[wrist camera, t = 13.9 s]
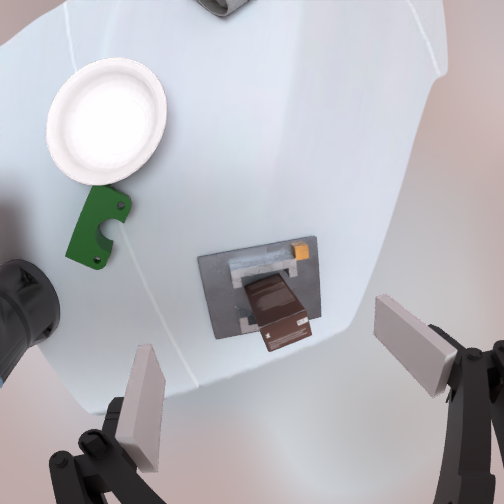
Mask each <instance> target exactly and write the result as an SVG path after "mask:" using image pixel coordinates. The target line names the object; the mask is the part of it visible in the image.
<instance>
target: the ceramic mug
mask: <svg viewBox="0 0 504 504" xmlns="http://www.w3.org/2000/svg"><path fill="white" fill-rule="evenodd" d="M198 1H199V2H200V4H201V5H202V6H203V7H205V8H206V9H207V10H208V11H210V12H211V13H213V14H215V15H218V16H226V15H228V14H230V13H231V12H232V11H234V10H235V9H237V8H238V7H240V6H241V5H242V4H244V3H245V2H247V1H248V0H198Z"/></svg>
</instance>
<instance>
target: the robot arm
mask: <svg viewBox="0 0 504 504" xmlns="http://www.w3.org/2000/svg"><path fill="white" fill-rule="evenodd" d="M59 318H60V307H59V301H58V298H57V295H56V292H55V290H54V288H53V286H52V284H51V283H50V281H49V280H48V278H47V277H46V276H45V275H44V273H43V272H42V271H41V270H39V269H38V268H37V267H36V266H34V265H33V264H31V263H29V262H27V261H24V260H12V261H10V262H8V263H6V264H5V265H3V266H1V267H0V388H1V387H2V386H3V384H4V382H5V381H6V379H7V378H8V376H9V375H10V373H11V372H12V370H13V368H14V367H15V366H16V364H17V363H18V361H19V360H20V358H21V357H22V356H23V354H24V353H25V351H26V350H27V349H28V348H29V347H32V346H34V345H36V344H38V343H40V342H42V341H44V340H46V339H47V338H48V337H50V335H51V334H52V333H53V332H54V330H55V329H56V327H57V325H58V323H59ZM374 336H376V338H377V339H378V340H379V341H380V342H381V343H382V344H383V345H384V346H385V347H386V348H387V349H388V350H389V351H390V352H391V354H393V356H394V357H395V358H396V359H397V360H398V361H399V362H400V363H401V364H402V365H403V366H404V367H405V368H406V370H407V371H408V372H409V373H410V374H411V375H412V376H413V377H414V378H415V379H416V380H417V381H418V383H419V384H420V385H421V386H422V387H423V388H424V389H425V390H426V391H427V392H428V393H429V394H430V396H431V397H432V398H435V397H436V396H438V395H440V394H442V393H444V391H445V388H446V385H447V384H448V385H449V386H450V387H451V389H450V392H449V394H448V397H447V399H446V403H447V402H448V400H449V408H448V420H447V431H446V440H445V447H444V453H443V460H442V466H441V471H440V476H439V481H438V486H437V491H436V495H435V499H434V502H433V504H493V501H494V492H495V475H492V474H491V473H490V463H491V420H492V423H493V426H494V430H495V434H496V437H497V441H498V445H499V449H500V453H501V457H502V462H503V467H504V340H500V341H497V342H495V344H494V346H493V350H490V351H486V352H482V351H481V350H479V349H477V348H467V349H466V348H464V347H463V346H462V345H461V344H459V343H458V342H457V341H456V340H455V339H453V338H452V337H450V336H449V335H448V334H447V333H445V332H444V331H443V330H442V329H440V328H439V327H436V326H434V325H432V324H430V325H428V326H427V325H426V324H425V323H423V322H422V321H421V320H420V319H418V318H417V317H416V316H414V315H413V314H412V313H411V312H409V311H408V310H407V309H405V308H404V307H403V306H401V305H400V304H399V303H398V302H396V301H395V300H394V299H392V298H391V297H390V296H388V295H387V294H383V295H380V296H377V297H376V305H375V321H374ZM165 382H166V381H165V378H164V376H163V373H162V371H161V368H160V366H159V363H158V361H157V358H156V355H155V353H154V350H153V347H152V345H151V344H147V345H139V346H138V349H137V353H136V356H135V360H134V363H133V367H132V370H131V374H130V378H129V381H128V385H127V389H126V393H125V397H115V398H114V399H113V400H112V401H111V403H110V404H109V406H108V409H107V414H106V416H105V420H104V424H103V427H102V431H101V430H98V429H91V430H88V431H86V432H84V433H83V434H82V435H81V437H80V438H79V441H78V445H79V448H80V449H81V450H82V451H83V453H84V454H83V455H78V456H74V457H73V456H72V455H71V454H70V453H69V452H67V451H58V452H56V453H54V454H53V455H52V456H51V458H50V460H49V468H50V474H51V480H52V485H53V489H54V494H55V499H56V503H57V504H108V503H107V500H106V498H105V495H104V493H106V492H110V491H112V492H113V493H114V495H115V496H116V497H117V498H118V500H119V501H120V502H121V504H166V503H165V502H164V501H163V500H162V499H161V498H160V497H159V496H158V495H157V494H156V493H155V492H154V491H153V490H152V489H151V488H150V487H149V486H148V485H147V484H146V483H145V482H144V480H143V479H142V478H141V477H140V476H139V475H138V474H137V473H136V470H137V467H138V468H139V470H140V471H141V472H143V473H145V472H158V460H159V445H160V432H161V421H162V409H163V400H164V390H165Z"/></svg>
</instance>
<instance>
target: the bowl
mask: <svg viewBox="0 0 504 504" xmlns="http://www.w3.org/2000/svg"><path fill="white" fill-rule="evenodd" d="M166 118H167V101H166V96H165V93H164V90H163V87H162V85H161V83H160V82H159V80H158V78H157V77H156V76H155V75H154V73H153V72H152V71H151V70H150V69H148V68H147V67H145V66H144V65H142V64H141V63H139V62H136V61H133V60H130V59H126V58H106V59H102V60H98V61H95V62H93V63H90V64H88V65H86V66H84V67H83V68H81V69H80V70H78V71H77V72H76V73H74V74H73V75H72V76H71V77H70V78H69V79H68V80H67V81H66V82H65V83H64V84H63V86H62V87H61V88H60V90H59V91H58V93H57V94H56V96H55V98H54V100H53V102H52V104H51V107H50V110H49V113H48V117H47V124H46V141H47V145H48V149H49V153H50V155H51V157H52V159H53V161H54V163H55V164H56V165H57V167H58V168H59V169H60V170H61V171H62V172H63V173H64V174H65V175H66V176H68V177H69V178H71V179H73V180H75V181H77V182H79V183H82V184H87V185H107V184H111V183H115V182H118V181H120V180H122V179H125V178H127V177H128V176H130V175H131V174H133V173H134V172H136V171H137V170H138V169H139V168H140V167H141V166H143V165H144V164H145V163H146V162H147V161H148V159H149V158H150V157H151V155H152V154H153V153H154V151H155V150H156V148H157V146H158V144H159V142H160V140H161V138H162V135H163V132H164V129H165V126H166Z"/></svg>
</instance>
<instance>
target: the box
mask: <svg viewBox="0 0 504 504" xmlns="http://www.w3.org/2000/svg"><path fill="white" fill-rule="evenodd" d="M244 289H245V292H246V294H247V297H248V300H249V303H250V305H251V308H252V311H253V313H254V316H255V319H256V322H257V324H258V327H259V330H260V332H261V335H262V337H263V340H264V342H265V344H266V347H267V349H268V351H269V352H271V351H274V350H276V349H279V348H282V347H284V346H287V345H289V344H291V343H294V342H296V341H299V340H301V339H304V338H306V337H309V336H311V335H312V332H311V328H310V324H309V320H308V315H307V311H306V309H305V308H304V306H303V305H302V304H301V302H300V301H299V300H298V298H297V297H296V295H295V294H294V293H293V291H292V290H291V289H290V287H289V286H288V285H287V283H286V282H285V280H284V279H283V278H282V276H281V275H280V274H279V273H278V274H276V275H273V276H270V277H268V278H265V279H262V280H260V281H257V282H254V283H252V284H249V285H246V286H244Z"/></svg>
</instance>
